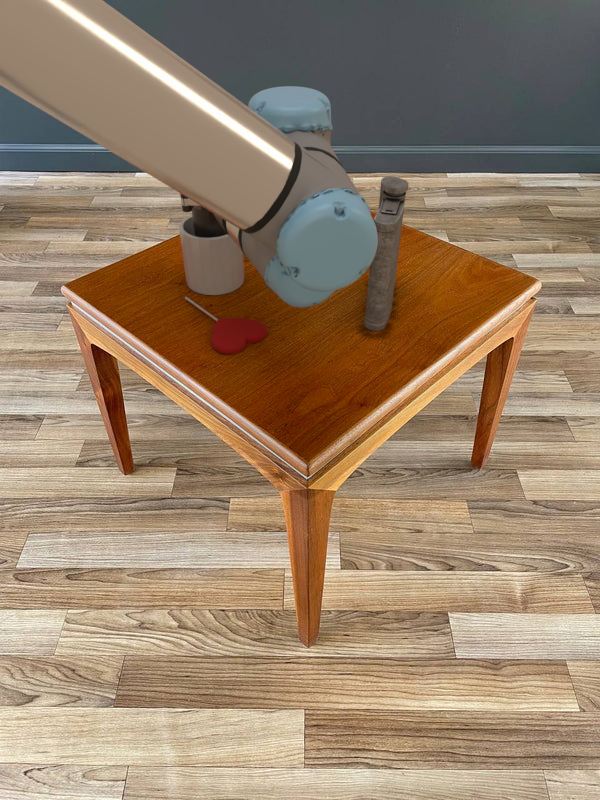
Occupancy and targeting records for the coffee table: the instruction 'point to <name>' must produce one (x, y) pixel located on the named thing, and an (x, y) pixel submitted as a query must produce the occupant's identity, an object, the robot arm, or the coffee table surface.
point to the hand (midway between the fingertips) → (191, 145)
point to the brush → (206, 223)
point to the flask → (385, 252)
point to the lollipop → (234, 332)
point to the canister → (210, 261)
